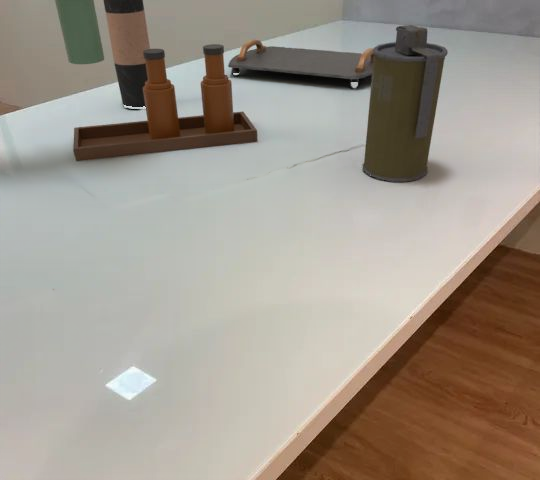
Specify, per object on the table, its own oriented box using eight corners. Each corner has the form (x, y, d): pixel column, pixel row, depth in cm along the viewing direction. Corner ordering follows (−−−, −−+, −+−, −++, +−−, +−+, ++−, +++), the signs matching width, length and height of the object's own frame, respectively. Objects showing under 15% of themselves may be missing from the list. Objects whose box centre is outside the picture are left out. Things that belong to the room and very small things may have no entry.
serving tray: (217, 76, 138) (215, 48, 134) (258, 56, 154) (258, 30, 150) (367, 92, 125) (370, 61, 121) (396, 68, 140) (399, 40, 136)
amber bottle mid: (159, 147, 98) (146, 56, 89) (145, 139, 102) (131, 50, 92) (186, 140, 101) (175, 51, 92) (171, 133, 104) (160, 45, 95)
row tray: (76, 164, 95) (73, 149, 93) (77, 142, 103) (74, 127, 102) (257, 145, 100) (257, 130, 99) (244, 125, 109) (243, 111, 107)
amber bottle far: (215, 141, 100) (207, 51, 91) (199, 133, 104) (191, 46, 94) (240, 135, 103) (235, 46, 93) (224, 127, 106) (218, 41, 97)
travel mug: (126, 112, 117) (106, -1, 104) (118, 103, 122) (98, -6, 109) (162, 107, 119) (146, -4, 106) (152, 98, 124) (137, -9, 111)
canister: (350, 163, 93) (361, 25, 80) (404, 154, 95) (423, 18, 82) (384, 188, 85) (402, 38, 72) (442, 176, 88) (469, 31, 75)
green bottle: (76, 66, 83) (50, -55, 74) (63, 59, 87) (37, -56, 78) (110, 60, 86) (88, -57, 77) (96, 54, 89) (74, -59, 80)
